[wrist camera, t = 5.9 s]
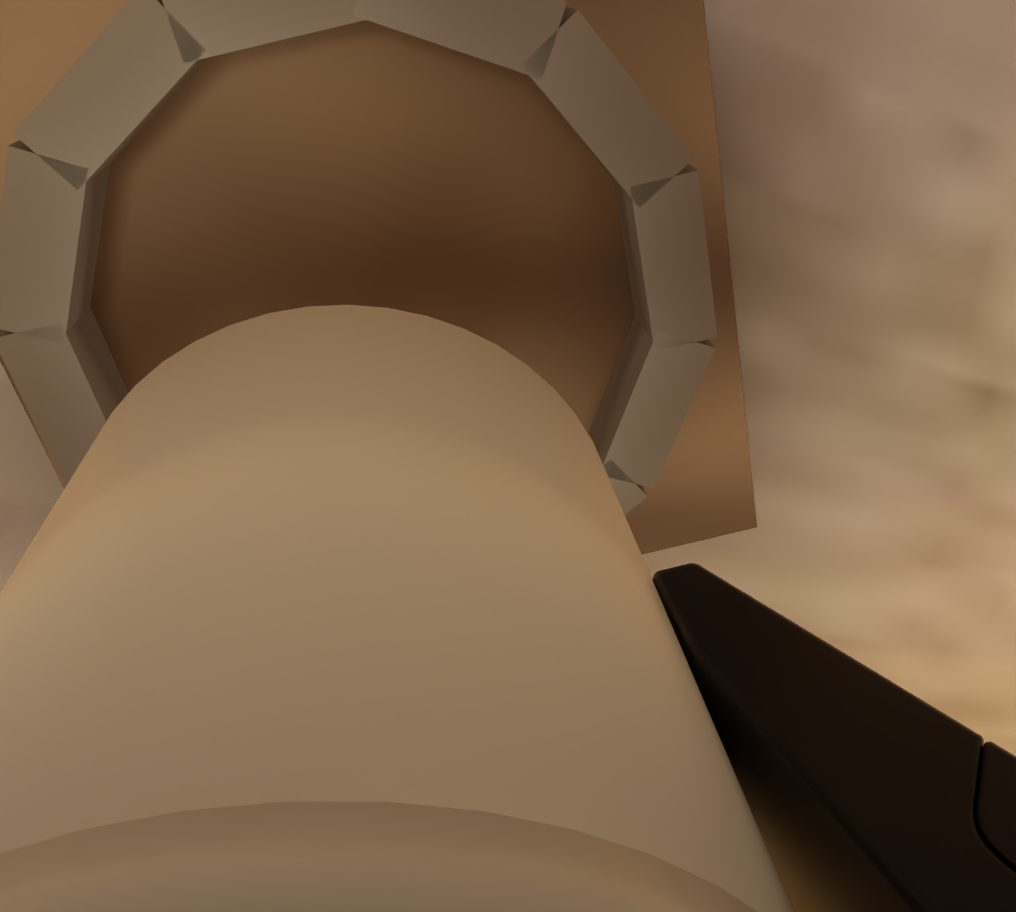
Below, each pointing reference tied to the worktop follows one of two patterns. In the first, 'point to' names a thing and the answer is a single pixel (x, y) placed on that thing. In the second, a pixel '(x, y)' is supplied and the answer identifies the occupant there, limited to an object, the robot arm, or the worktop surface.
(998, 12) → the worktop surface
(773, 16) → the worktop surface
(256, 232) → the collar base
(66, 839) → the cap
